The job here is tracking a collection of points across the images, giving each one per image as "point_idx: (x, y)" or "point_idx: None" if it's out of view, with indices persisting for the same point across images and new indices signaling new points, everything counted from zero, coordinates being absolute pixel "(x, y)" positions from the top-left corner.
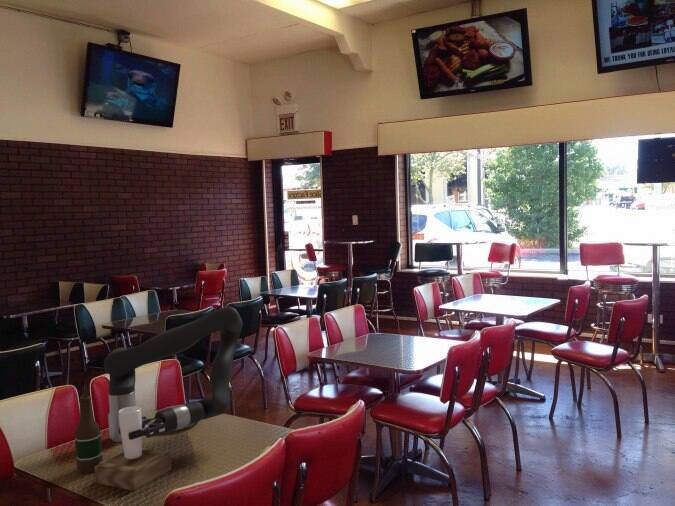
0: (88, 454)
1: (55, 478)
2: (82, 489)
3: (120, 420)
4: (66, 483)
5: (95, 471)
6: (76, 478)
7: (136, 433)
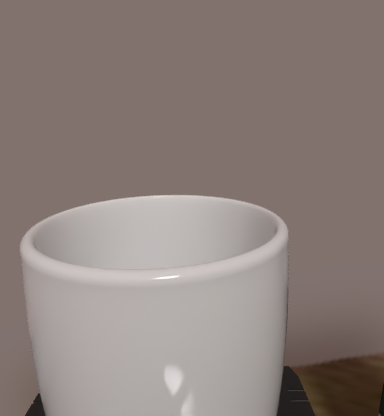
0: (382, 394)
1: (371, 370)
2: None
3: (160, 252)
4: (308, 378)
5: None
6: (337, 411)
7: (35, 400)
